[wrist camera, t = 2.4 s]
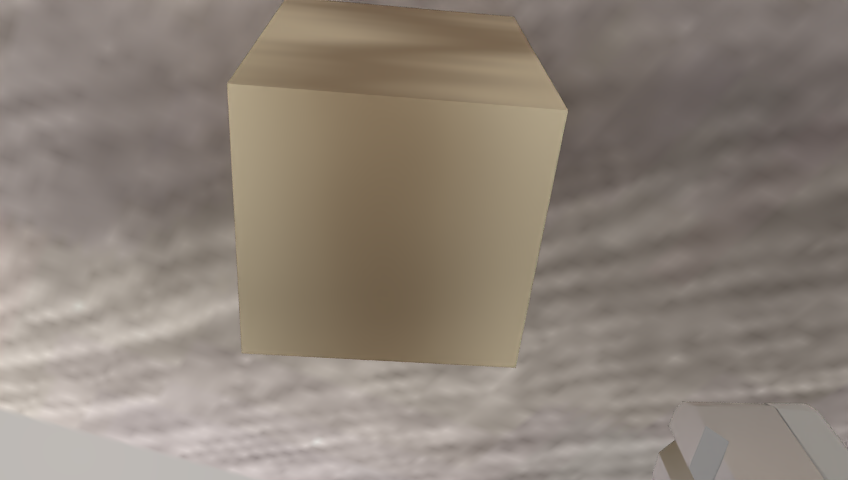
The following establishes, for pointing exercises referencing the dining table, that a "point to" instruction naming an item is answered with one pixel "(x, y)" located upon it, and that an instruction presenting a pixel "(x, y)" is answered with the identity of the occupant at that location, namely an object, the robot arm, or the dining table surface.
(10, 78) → the dining table surface
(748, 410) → the robot arm
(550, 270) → the dining table surface
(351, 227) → the maple block
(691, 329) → the dining table surface
